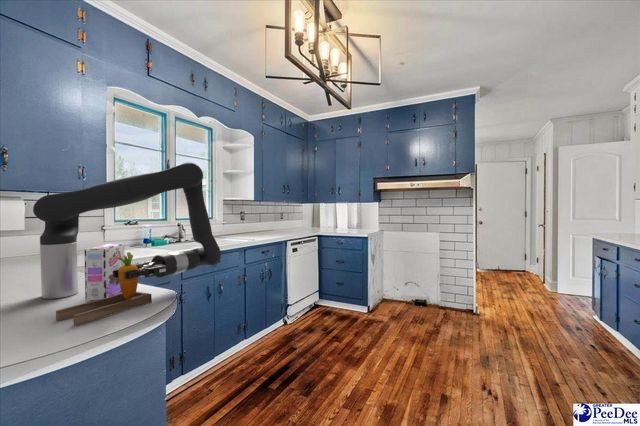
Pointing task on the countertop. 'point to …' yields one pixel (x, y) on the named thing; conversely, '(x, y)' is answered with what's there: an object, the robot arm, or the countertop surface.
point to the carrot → (127, 285)
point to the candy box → (102, 271)
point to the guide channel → (102, 307)
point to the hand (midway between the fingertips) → (119, 275)
